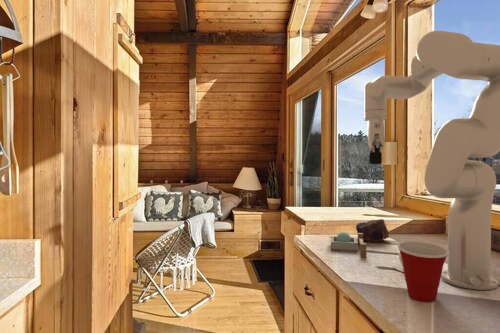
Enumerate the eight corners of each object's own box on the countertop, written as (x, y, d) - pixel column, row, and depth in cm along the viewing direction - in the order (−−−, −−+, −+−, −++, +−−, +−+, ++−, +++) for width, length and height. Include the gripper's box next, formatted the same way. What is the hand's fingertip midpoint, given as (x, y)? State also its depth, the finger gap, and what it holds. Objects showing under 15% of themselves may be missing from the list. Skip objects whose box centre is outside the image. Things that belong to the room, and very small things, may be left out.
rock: (359, 240, 144) (358, 246, 135) (355, 219, 145) (354, 223, 135) (389, 238, 140) (390, 243, 131) (386, 216, 141) (386, 220, 131)
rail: (366, 257, 115) (366, 244, 115) (360, 257, 116) (360, 244, 115) (362, 245, 132) (362, 233, 132) (357, 244, 133) (357, 233, 132)
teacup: (436, 276, 97) (436, 259, 97) (398, 275, 99) (398, 258, 99) (424, 265, 107) (425, 250, 107) (390, 264, 109) (390, 249, 109)
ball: (351, 247, 125) (350, 233, 125) (336, 247, 126) (336, 233, 126) (350, 245, 130) (350, 231, 130) (336, 244, 131) (336, 231, 131)
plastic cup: (412, 308, 77) (413, 253, 76) (388, 290, 87) (389, 241, 87) (460, 306, 77) (460, 251, 77) (431, 288, 88) (431, 240, 88)
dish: (357, 251, 123) (357, 243, 123) (330, 250, 125) (330, 241, 125) (356, 245, 131) (356, 237, 131) (331, 244, 134) (331, 236, 134)
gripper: (389, 112, 118) (389, 164, 118) (383, 118, 135) (383, 163, 135) (366, 113, 120) (366, 164, 120) (362, 118, 137) (362, 163, 137)
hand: (375, 163), depth 128 cm, fingers open, 9 cm apart
